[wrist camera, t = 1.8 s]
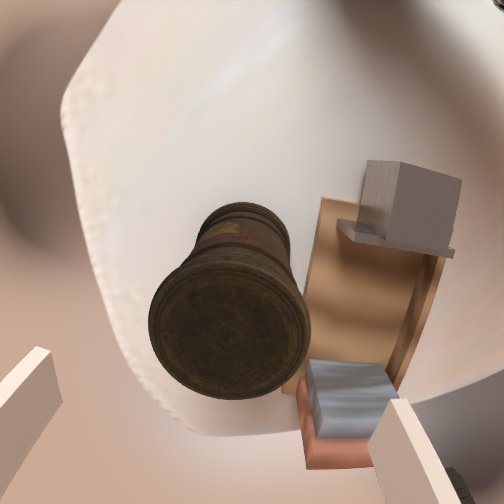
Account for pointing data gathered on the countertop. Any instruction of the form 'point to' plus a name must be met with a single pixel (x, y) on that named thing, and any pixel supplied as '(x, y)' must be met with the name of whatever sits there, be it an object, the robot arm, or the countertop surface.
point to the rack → (356, 337)
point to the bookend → (405, 209)
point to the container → (232, 308)
